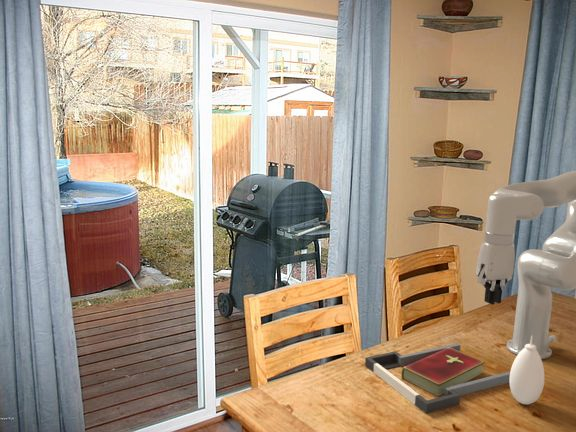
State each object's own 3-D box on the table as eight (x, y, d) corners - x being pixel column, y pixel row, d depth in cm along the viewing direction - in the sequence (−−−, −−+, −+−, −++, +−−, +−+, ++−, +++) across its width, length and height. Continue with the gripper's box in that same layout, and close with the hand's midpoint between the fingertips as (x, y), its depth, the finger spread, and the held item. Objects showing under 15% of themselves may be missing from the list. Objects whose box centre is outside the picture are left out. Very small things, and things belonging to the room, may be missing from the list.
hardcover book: (401, 380, 145) (402, 365, 144) (447, 358, 158) (448, 345, 157) (438, 398, 136) (439, 383, 135) (483, 374, 148) (485, 360, 148)
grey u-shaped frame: (450, 347, 164) (450, 339, 164) (519, 387, 141) (520, 378, 141) (365, 365, 151) (365, 357, 151) (426, 413, 128) (426, 404, 127)
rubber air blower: (512, 391, 139) (520, 326, 136) (544, 401, 134) (553, 335, 131) (502, 403, 133) (510, 335, 130) (536, 414, 128) (544, 345, 125)
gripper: (509, 233, 153) (502, 294, 156) (467, 238, 146) (461, 301, 150) (530, 239, 146) (523, 303, 150) (488, 244, 139) (481, 310, 143)
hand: (492, 301), depth 150 cm, fingers closed
